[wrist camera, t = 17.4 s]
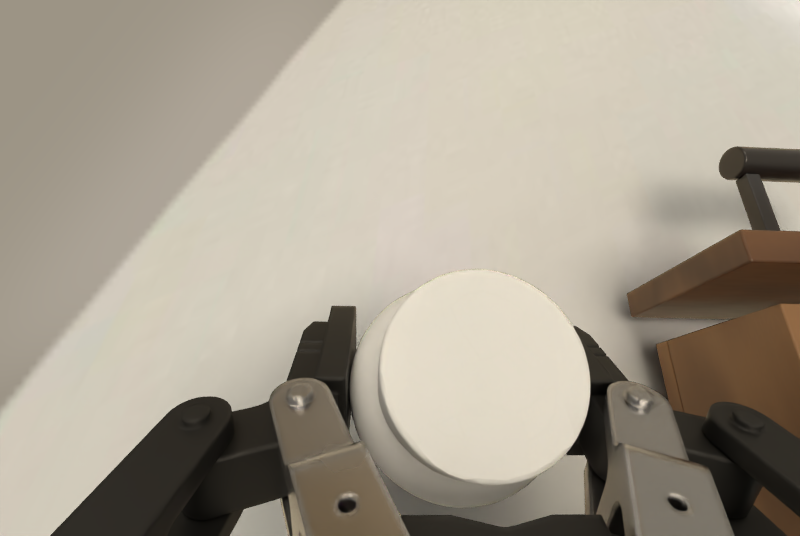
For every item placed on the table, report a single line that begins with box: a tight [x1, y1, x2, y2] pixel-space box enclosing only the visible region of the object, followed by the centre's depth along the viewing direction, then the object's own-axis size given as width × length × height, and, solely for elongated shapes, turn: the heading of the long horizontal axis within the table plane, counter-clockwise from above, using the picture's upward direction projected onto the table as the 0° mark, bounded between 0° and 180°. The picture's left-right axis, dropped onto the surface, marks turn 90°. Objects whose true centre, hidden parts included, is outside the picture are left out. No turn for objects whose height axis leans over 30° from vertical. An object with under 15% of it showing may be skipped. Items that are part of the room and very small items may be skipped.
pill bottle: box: [349, 269, 590, 508], centre depth 12 cm, size 5×5×10 cm
